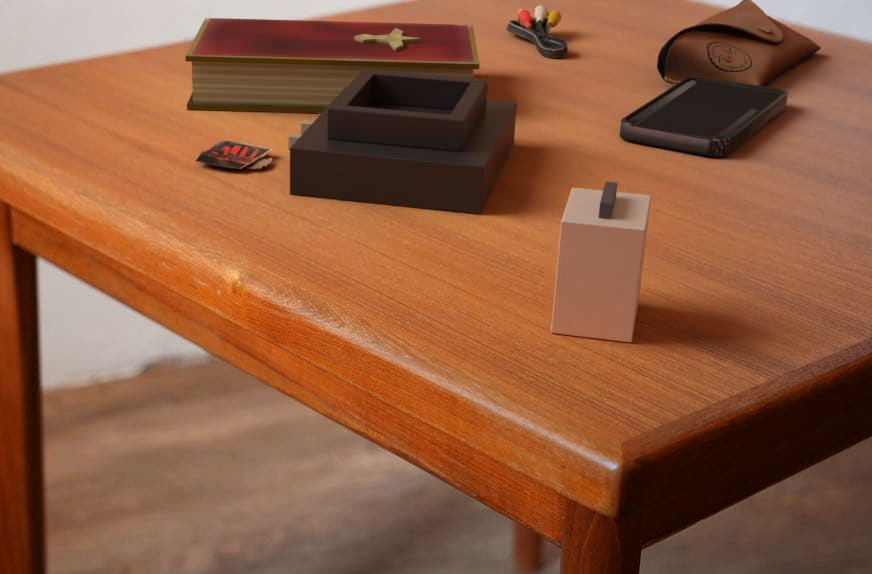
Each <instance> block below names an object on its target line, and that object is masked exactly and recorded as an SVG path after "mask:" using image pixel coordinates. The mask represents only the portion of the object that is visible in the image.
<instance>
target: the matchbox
mask: <svg viewBox="0 0 872 574" xmlns="http://www.w3.org/2000/svg"><path fill="white" fill-rule="evenodd" d="M273 150H274V148H270V147H265V146H262V145H258V144H252V143H249V142H248V141H245V142H241V141H236V140H234V141H233V140H227V139H221V140H220V141H219V142H218V143H214V145H213V146H211V147H210V148H209V149H206V150H204V151H203V150H202V151H201V152H200V154H199V155H198V157H197V158H196V160H195V162H197V163H202V164H206V165H207V164H208V165H211V166H216V167H220V168H221V167H222V168H226V169H238V170H239V169H240V170H241V169H243V168H244V167H245V168H246V169H249V170H250V169H251V170H256V169H258V170H259V169H263V167H265V168H267V167H268V166H269V165H270V164H271V163H272V161H273V158H272V157H268V158H264V157H266V156H268V155H269V154H270V152H271V151H273ZM267 153H269V154H267ZM266 154H267V155H266ZM249 165H252V166H249ZM210 169H213V167H210Z"/></svg>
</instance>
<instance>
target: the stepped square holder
mask: <svg viewBox="0 0 872 574" xmlns="http://www.w3.org/2000/svg"><path fill="white" fill-rule="evenodd" d="M488 85H489V79H486V78H485V79H484V78H474V77H473V78H463V77H451V76H439V75H427V74H415V73H403V72H391V71H380V70H368V69H363V70H362V71H361V72H360V73H359V74H358V75H357V77H356V78H355V79H354V80H353V81H352V82H351V83H350V84H349V85H348V87H345V88H344V89H343V90H342V91H341V92H340V93H339V95H338V96H337V97H336V98H335V99H334V100H333V101H332V102H331V103H330V104H329V106H328V107H327V108H326V109H325V110H324V111H323V112H322V113H319V115H318V116H317V118H316V119H315V120H314V121H313V120H302V121H301V122H300V134H298V133H290V134H289V135H288V136H287V151H289V194H290V195H296V196H304V197H315V198H325V199H334V200H343V201H352V202H362V203H372V204H381V205H382V204H383V205H391V206H401V207H408V208H409V207H410V208H420V209H429V210H439V211H446V212H447V211H449V212H458V213H467V214H478V215H481V214H482V213H483V212H484V211H483V210H484V209H485V207H486V204H487V202H488V200H489V198H490V196H491V194H492V192H493V189H494V187H495V185H496V183H497V181H498V179H499V177H500V174H501V172H502V170H503V168H504V166H505V165H506V162H507V159H508V157H509V155H510V153H511V151H512V149H513V147H514V144H515V135H516V133H515V132H516V121H517V109H518V108H517V107H518V102H517V101H512V100H511V101H510V100H501V99H500V100H498V99H488V87H489V86H488Z"/></svg>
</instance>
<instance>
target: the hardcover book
mask: <svg viewBox="0 0 872 574" xmlns="http://www.w3.org/2000/svg"><path fill="white" fill-rule="evenodd" d="M185 62H189V63H190V62H191V79H192V80H191V81H192V82H191V84H192V92H191V95H190V96H189V99H188V100H187V103H186V110H191V111H192V110H193V111H195V110H196V111H226V112H227V111H232V112H233V111H234V112H262V113H263V112H266V113H297V114H298V113H299V114H321V113H322V112H323V111H324V110H325V109H326V108H327V107H328V106H329V104H330V103H331V102H332V101H333V100H334V99H335V98H336V97H337V96H338V95H339V93H340V92H341V91H342V90H343V89H344V88H345V87H348V85H349V84H350V83H351V82H352V81H353V80H354V79H355V78H356V77H357V75H358V74H359V73H360V72H361V71H362V70H363V69H368V70H380V71H391V72H403V73H415V74H427V75H439V76H451V77H463V78H474V70H480V60H479V53H478V48H477V41H476V37H475V31H474V25H473V24H455V23H454V24H453V23H452V24H447V23H413V22H379V21H378V22H376V21H372V22H371V21H342V20H341V21H339V20H338V21H337V20H335V21H334V20H301V19H300V20H299V19H298V20H297V19H296V20H295V19H265V18H264V19H263V18H261V19H260V18H225V17H205V18H204V20H203V21H202V23H201V25H200V27H199V29H198V31H197V33H196V34H195V37H194V39H193V40H192V42H191V45H190V46H189V48H188V50H187V52H186V54H185Z"/></svg>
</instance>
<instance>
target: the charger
mask: <svg viewBox="0 0 872 574" xmlns="http://www.w3.org/2000/svg"><path fill="white" fill-rule="evenodd" d="M651 202H652V195H650V194H642V193H634V192H633V193H632V192H623V191H618V182H617V181H616V182H615V181H605V183H604V186H603V190H601V189H594V188H593V189H591V188H582V187H571V189H570V193H569V196H568V199H567V202H566V205H565V208H564V211H563V215H562V219H561V221H560V228H559V240H558V248H557V249H558V250H557V260H556V261H557V262H556V271H555V273H556V274H555V282H554V293H553V305H552V316H551V325H550V326H551V327H550V333H551V334H557V335H566V336H574V337H581V338H589V339H597V340H606V341H615V342H621V343H622V342H623V343H632V342H633V336H634V331H635V325H636V319H637V313H638V306H639V300H640V292H641V286H642V285H641V284H642V276H643V268H644V261H645V250H646V243H647V236H648V228H649V227H648V226H649V219H650V211H651Z"/></svg>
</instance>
